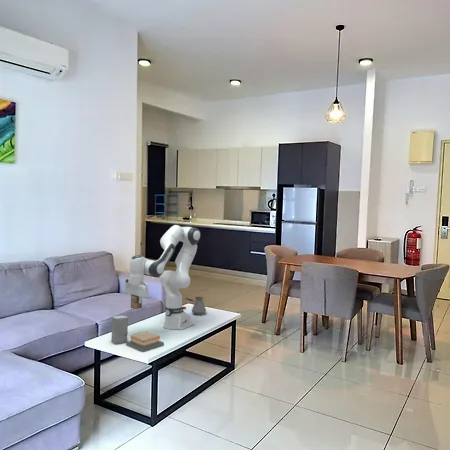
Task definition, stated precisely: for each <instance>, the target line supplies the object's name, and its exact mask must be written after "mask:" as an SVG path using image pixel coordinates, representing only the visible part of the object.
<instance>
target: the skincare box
mask: <svg viewBox="0 0 450 450" xmlns="http://www.w3.org/2000/svg"><path fill="white" fill-rule="evenodd" d="M128 327H129V316H126V315H115V316H114V315H113V316H112V317H111V338H110V339H111V342H112V343H114V345H119V344H124V343H125V344H126V342H128V334H129V333H128V330H129V329H128Z"/></svg>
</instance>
